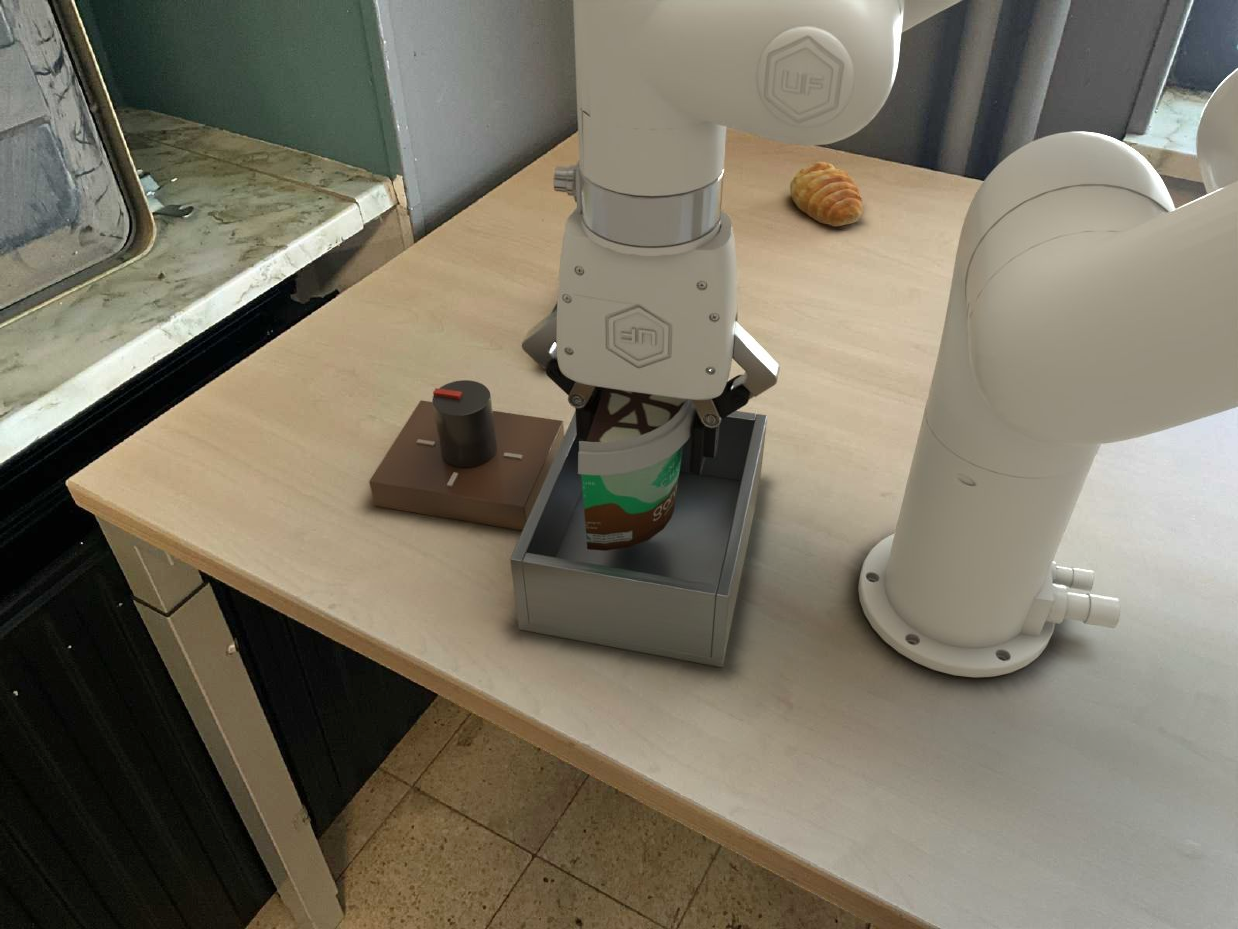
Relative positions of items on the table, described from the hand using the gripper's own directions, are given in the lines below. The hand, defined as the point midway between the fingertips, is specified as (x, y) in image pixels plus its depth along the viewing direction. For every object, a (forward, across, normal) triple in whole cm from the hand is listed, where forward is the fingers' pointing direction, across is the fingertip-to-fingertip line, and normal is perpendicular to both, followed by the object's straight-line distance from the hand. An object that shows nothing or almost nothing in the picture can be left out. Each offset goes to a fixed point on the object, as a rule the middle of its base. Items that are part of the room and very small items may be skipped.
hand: (647, 451), depth 65 cm
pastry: (+10, +8, +55) cm, 56 cm away
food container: (+5, 0, 0) cm, 5 cm away
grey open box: (+9, 0, 0) cm, 9 cm away
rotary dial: (+10, -15, +5) cm, 18 cm away
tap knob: (+7, -15, +5) cm, 17 cm away
